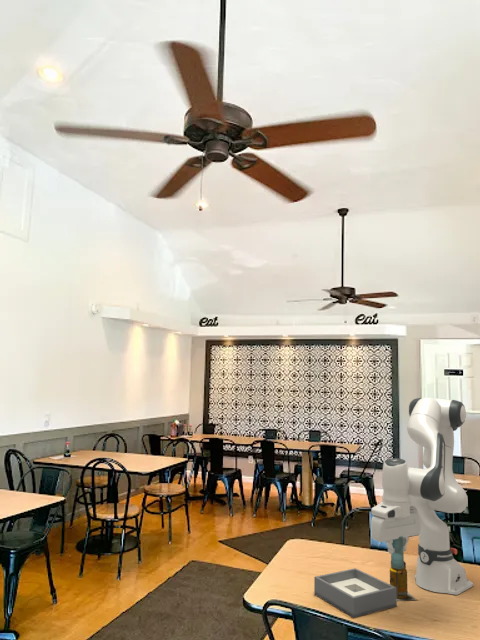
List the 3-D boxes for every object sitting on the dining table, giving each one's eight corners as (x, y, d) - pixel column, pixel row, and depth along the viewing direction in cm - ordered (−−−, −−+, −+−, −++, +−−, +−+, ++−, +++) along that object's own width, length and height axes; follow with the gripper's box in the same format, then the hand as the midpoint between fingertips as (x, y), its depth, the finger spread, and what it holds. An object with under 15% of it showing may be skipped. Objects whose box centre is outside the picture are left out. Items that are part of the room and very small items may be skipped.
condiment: (386, 592, 173) (385, 557, 175) (408, 592, 174) (407, 557, 176) (394, 601, 166) (393, 564, 168) (417, 600, 167) (416, 564, 168)
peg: (397, 563, 159) (396, 532, 160) (406, 567, 155) (405, 535, 157) (388, 565, 157) (388, 534, 158) (398, 569, 153) (397, 537, 155)
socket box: (355, 585, 179) (355, 568, 180) (396, 606, 162) (396, 587, 163) (314, 594, 169) (314, 576, 170) (353, 618, 152) (353, 598, 153)
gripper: (409, 503, 167) (410, 544, 165) (367, 509, 157) (368, 553, 155) (424, 507, 161) (425, 550, 159) (381, 514, 151) (382, 559, 149)
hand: (397, 551), depth 157 cm, fingers closed on peg, 4 cm apart
